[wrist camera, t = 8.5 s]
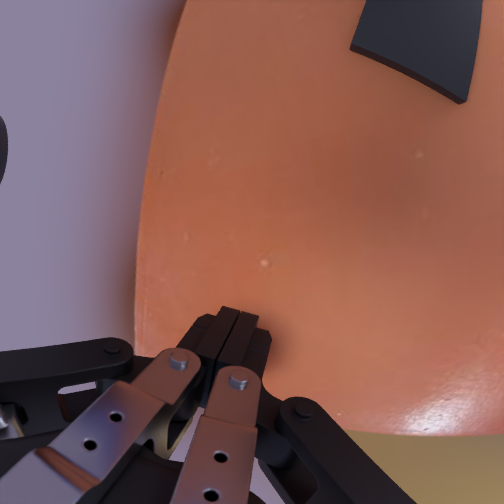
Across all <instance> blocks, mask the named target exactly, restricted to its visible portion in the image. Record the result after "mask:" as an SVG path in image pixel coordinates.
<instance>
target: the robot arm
mask: <svg viewBox="0 0 504 504" xmlns="http://www.w3.org/2000/svg"><path fill="white" fill-rule="evenodd" d="M258 319H259V316H258V315H254V314H251V313H247V312H243V311H241V313H240V310H236V309H233V308H229V307H226V306H222V308H221V309H220V311H219V312H218V314H217V315H216V316H214V315H210V314H205V315H203V316H201V317H198V318H197V320H196V321H195V322H194V324H193V326H191V328H190V329H189V331H188V332H187V333H186V334H185V336H184V337H183V338H182V340H181V341H180V342H179V344H178V345H177V346H176V348H168V349H165V350H163V351H162V352H160V353H159V354H158V355H157V356H156V357H155V358H149V357H142V356H136V355H133V348H132V346H131V345H130V344H129V343H128V342H126V341H124V340H122V339H119V338H113V337H111V338H110V337H109V338H101V339H95V340H89V341H82V342H75V343H68V344H61V345H53V346H46V347H37V348H29V349H20V350H11V351H1V352H0V504H266V503H265V502H264V501H263V500H261V499H260V498H259V497H258V496H256V495H255V494H254V493H252V492H251V491H249V489H250V482H251V476H252V469H253V462H254V457H256V458H257V459H258V463H259V466H260V468H261V469H262V471H263V472H264V474H265V475H266V477H267V478H268V480H269V481H270V483H271V484H272V486H273V487H274V488H275V490H276V491H277V492H278V494H279V496H280V497H281V498H282V500H283V501H284V503H285V504H417V503H416V502H415V501H414V500H412V499H411V498H410V497H409V496H408V495H407V494H406V493H405V492H404V491H403V490H402V489H401V488H400V487H399V486H398V485H397V484H396V483H395V482H394V481H393V480H392V479H391V478H390V477H389V476H388V475H387V474H386V473H385V472H383V471H382V469H380V467H379V466H378V465H376V464H375V463H374V462H373V460H372V459H371V458H370V457H369V456H367V454H366V453H364V451H363V450H362V449H361V448H360V447H359V446H358V445H357V444H356V443H355V442H354V441H353V440H352V439H351V438H350V437H349V436H348V435H347V434H346V433H345V432H344V431H343V429H342V428H341V427H340V426H339V425H338V424H337V423H336V422H335V421H334V420H333V419H332V418H331V417H330V416H329V415H328V413H327V412H326V411H325V410H324V409H323V408H322V407H321V406H320V405H319V404H318V403H316V402H315V401H313V400H311V399H308V398H305V397H290V398H288V399H286V400H284V401H282V400H280V399H278V398H276V397H274V396H272V395H271V394H270V393H269V392H267V390H266V389H265V388H264V386H263V383H262V377H263V373H264V369H265V365H266V361H267V357H268V353H269V349H270V345H271V341H272V338H271V335H270V333H269V331H267V330H264V329H260V328H256V327H257V323H258ZM94 381H95V384H96V388H95V389H89V390H84V391H79V392H74V393H68V394H58V391H59V390H60V389H61V388H63V387H67V386H73V385H78V384H84V383H89V382H94ZM198 407H201V408H204V409H205V410H204V414H203V415H201V416H200V418H199V421H198V424H197V427H196V430H195V432H194V435H193V438H192V441H191V444H190V447H189V450H188V453H187V455H186V458H185V461H184V462H178V461H171V460H169V458H170V456H171V454H172V453H173V451H174V450H175V448H176V447H177V445H178V443H179V442H180V440H181V439H182V437H183V436H184V434H185V432H186V431H187V429H188V428H189V426H190V424H191V423H192V419H193V416H194V414H195V412H196V410H197V408H198Z"/></svg>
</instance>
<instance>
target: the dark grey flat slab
mask: <svg viewBox="0 0 504 504" xmlns="http://www.w3.org/2000/svg"><path fill="white" fill-rule="evenodd" d="M481 12H482V0H366V3H365V6H364V9H363V12H362V14H361V17H360V20H359V23H358V26H357V29H356V31H355V34H354V37H353V40H352V43H351V46H350V49H349V50H351V51H354V52H356V53H359V54H361V55H364V56H366V57H369V58H371V59H373V60H376V61H378V62H380V63H382V64H385V65H387V66H389V67H391V68H393V69H395V70H398V71H400V72H402V73H404V74H406V75H408V76H410V77H412V78H414V79H415V80H417V81H419V82H421V83H423V84H425V85H427V86H429V87H430V88H432V89H434V90H436V91H437V92H439V93H441V94H443V95H444V96H446V97H448V98H449V99H451V100H453V101H454V102H456V103H457V104H462V103H464V102H466V100H467V96H468V92H469V87H470V83H471V78H472V73H473V68H474V63H475V57H476V51H477V45H478V38H479V30H480V22H481Z"/></svg>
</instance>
